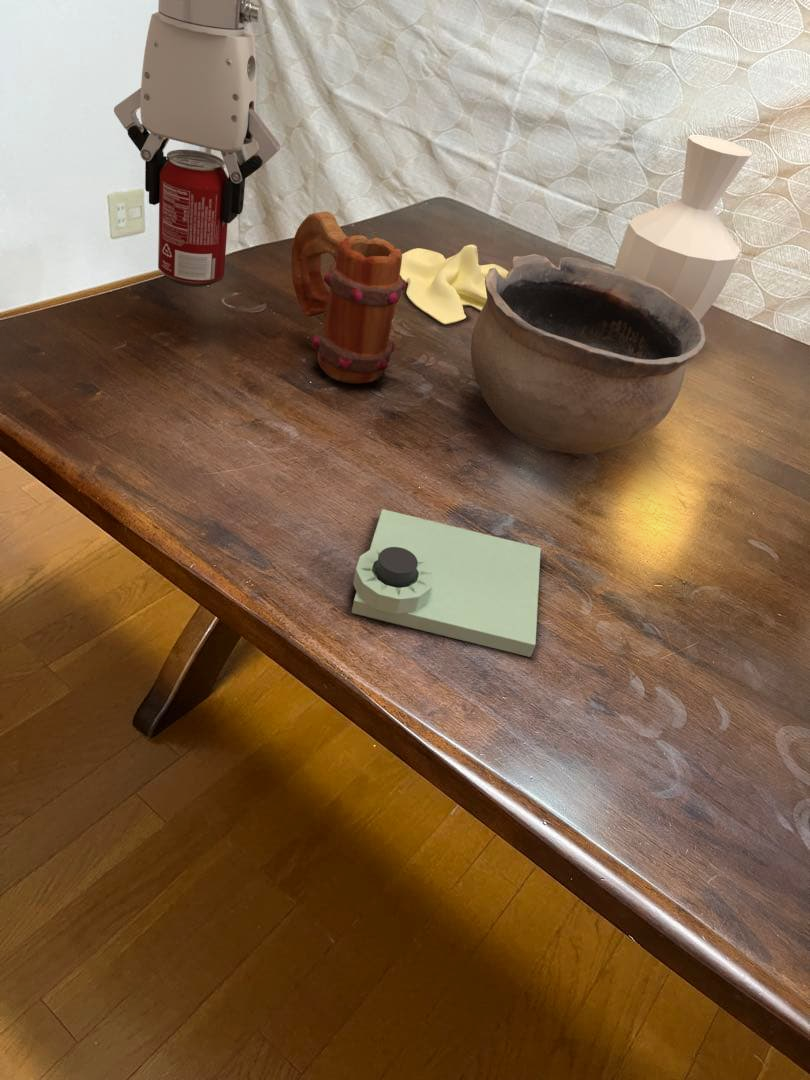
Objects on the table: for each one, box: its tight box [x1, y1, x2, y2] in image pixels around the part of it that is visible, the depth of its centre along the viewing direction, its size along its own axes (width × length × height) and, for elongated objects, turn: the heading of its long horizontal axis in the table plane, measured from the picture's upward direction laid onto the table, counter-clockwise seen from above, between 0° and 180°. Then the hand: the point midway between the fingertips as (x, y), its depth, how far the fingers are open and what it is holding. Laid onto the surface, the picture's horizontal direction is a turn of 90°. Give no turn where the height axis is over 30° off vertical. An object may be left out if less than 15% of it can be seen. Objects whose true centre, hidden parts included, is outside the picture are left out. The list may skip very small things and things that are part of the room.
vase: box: [614, 134, 753, 322], centre depth 108 cm, size 14×14×25 cm
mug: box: [290, 211, 407, 385], centre depth 91 cm, size 15×8×15 cm, turn 47°
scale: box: [351, 508, 542, 658], centre depth 69 cm, size 14×12×3 cm
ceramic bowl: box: [470, 253, 707, 455], centre depth 88 cm, size 22×22×15 cm
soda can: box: [157, 149, 229, 288], centre depth 87 cm, size 7×7×12 cm
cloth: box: [400, 244, 509, 325], centre depth 115 cm, size 22×19×6 cm
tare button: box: [375, 547, 418, 588], centre depth 65 cm, size 3×3×2 cm
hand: (194, 208), depth 87 cm, fingers closed on soda can, 6 cm apart
